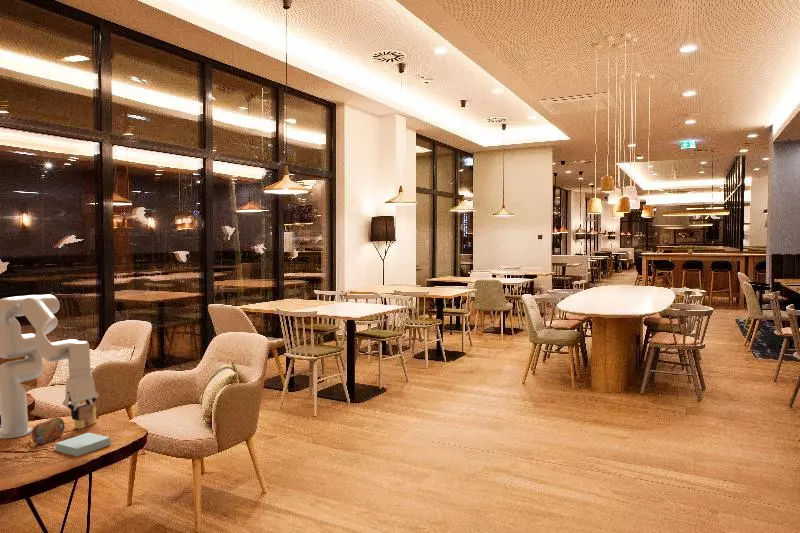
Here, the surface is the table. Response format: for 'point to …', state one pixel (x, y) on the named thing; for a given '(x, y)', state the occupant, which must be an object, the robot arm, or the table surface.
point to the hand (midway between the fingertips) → (82, 417)
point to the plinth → (82, 444)
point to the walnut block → (84, 411)
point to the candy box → (90, 420)
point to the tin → (47, 430)
